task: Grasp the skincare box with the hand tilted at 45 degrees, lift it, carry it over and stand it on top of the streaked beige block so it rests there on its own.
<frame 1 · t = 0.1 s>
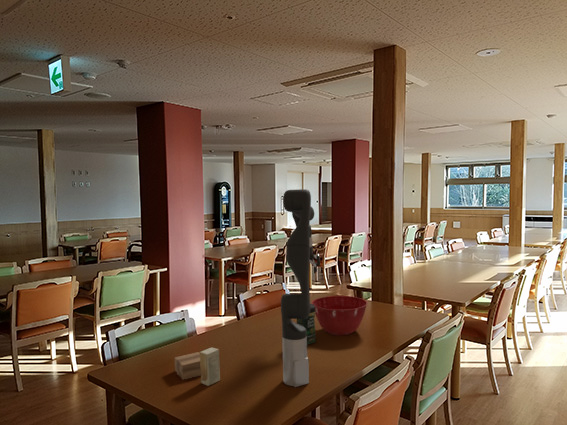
hand: (306, 272, 215), 31 cm above the table, tool tilted 20°, fingers open, 8 cm apart
skincare box: (210, 382, 161), on the table
coffee jar: (306, 343, 203), on the table
streaked beige block: (191, 373, 170), on the table
mixing bowl: (339, 331, 219), on the table
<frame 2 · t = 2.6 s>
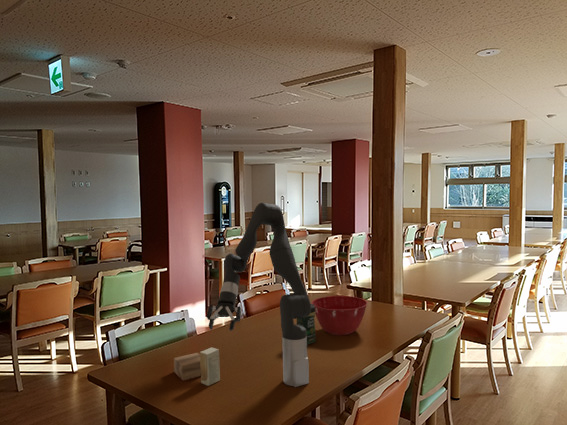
hand: (220, 329, 175), 16 cm above the table, tool tilted 40°, fingers open, 8 cm apart
nothing on the table moved.
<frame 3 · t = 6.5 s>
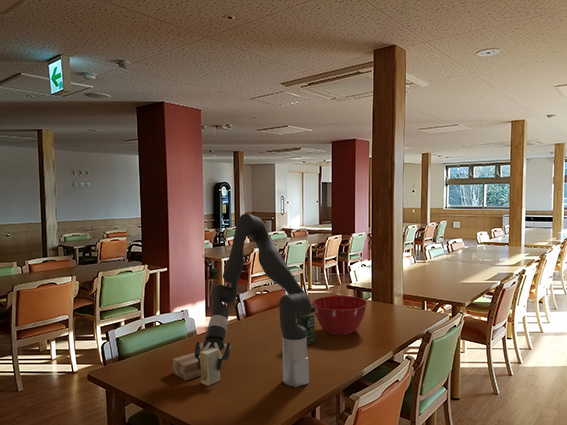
hand: (208, 369, 159), 5 cm above the table, tool tilted 45°, fingers closed on skincare box, 6 cm apart
skincare box: (210, 382, 161), on the table, touching gripper
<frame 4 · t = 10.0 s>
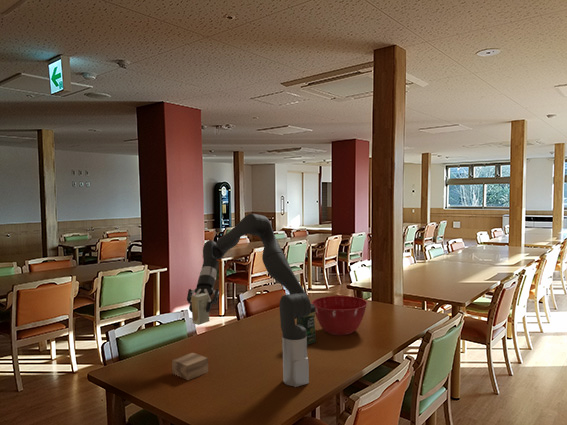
hand: (199, 311, 181), 22 cm above the table, tool tilted 45°, fingers closed on skincare box, 6 cm apart
skincare box: (200, 323, 183), point 16 cm above the table, touching gripper
when the fingers open (12 cm above the table, at t = 13.4 s): skincare box stays where it is, point 7 cm above the table.
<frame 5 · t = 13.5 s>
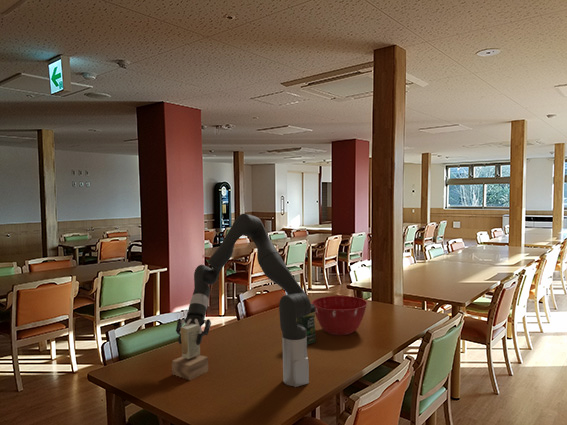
hand: (189, 343, 169), 12 cm above the table, tool tilted 45°, fingers open, 6 cm apart
skincare box: (190, 356, 170), point 7 cm above the table
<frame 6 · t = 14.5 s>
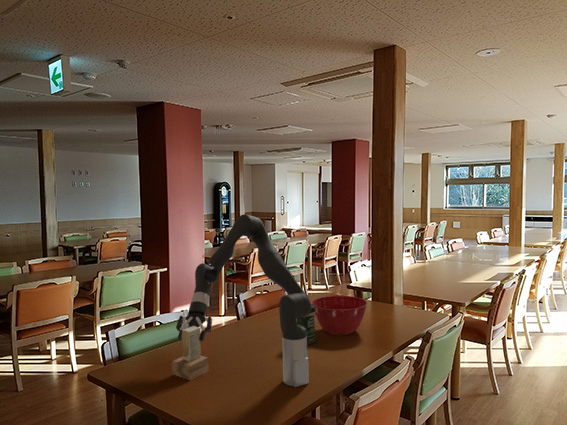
hand: (190, 340, 171), 13 cm above the table, tool tilted 45°, fingers open, 8 cm apart
skincare box: (191, 358, 170), point 6 cm above the table, touching gripper, streaked beige block
streaked beige block: (190, 373, 170), on the table, touching skincare box
everything else where it was.
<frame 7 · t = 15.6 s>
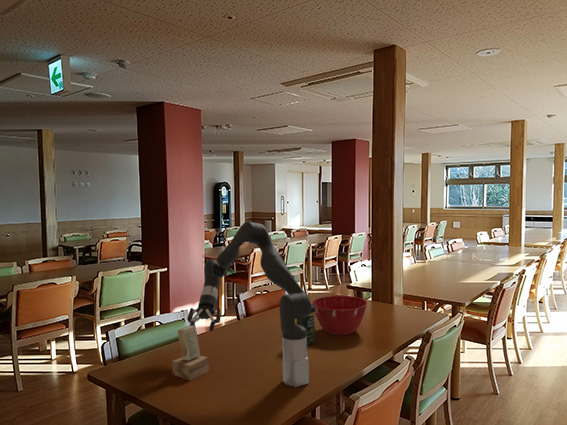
hand: (201, 330, 182), 13 cm above the table, tool tilted 45°, fingers open, 8 cm apart
skincare box: (190, 358, 170), point 6 cm above the table, touching streaked beige block
everything else where it was.
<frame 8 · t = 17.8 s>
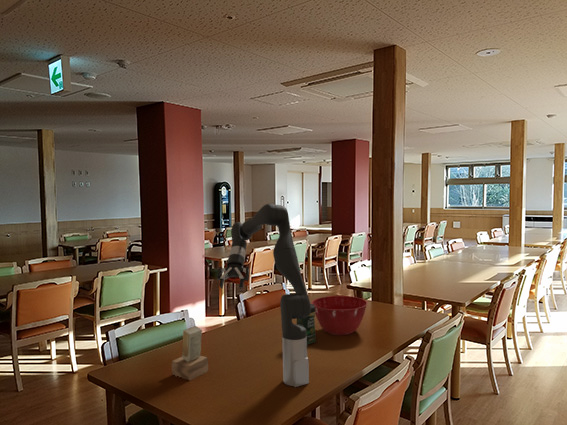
hand: (230, 287, 186), 31 cm above the table, tool tilted 45°, fingers open, 8 cm apart
skincare box: (190, 357, 170), point 6 cm above the table
streaked beige block: (190, 373, 170), on the table
everything else where it was.
at the end: skincare box inside the target area on the streaked beige block (0.6 cm from its centre), point 6.3 cm above the streaked beige block's base; skincare box tilted 8°; the gripper is holding nothing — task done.
